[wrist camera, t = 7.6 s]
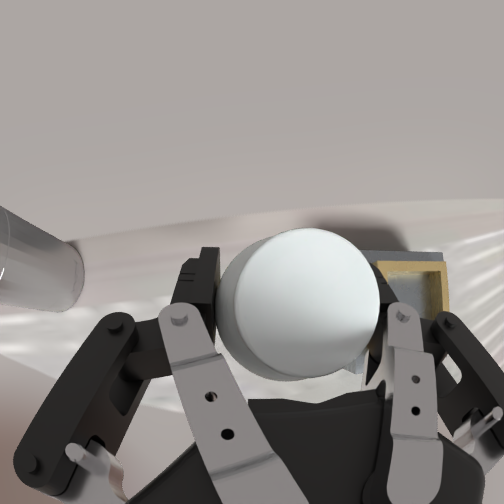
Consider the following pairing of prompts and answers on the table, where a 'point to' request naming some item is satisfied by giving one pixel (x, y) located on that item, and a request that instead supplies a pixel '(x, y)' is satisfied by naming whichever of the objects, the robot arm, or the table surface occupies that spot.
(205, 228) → the table surface
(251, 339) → the supplement bottle
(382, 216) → the table surface
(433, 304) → the gold-rimmed square tray
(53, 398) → the robot arm
